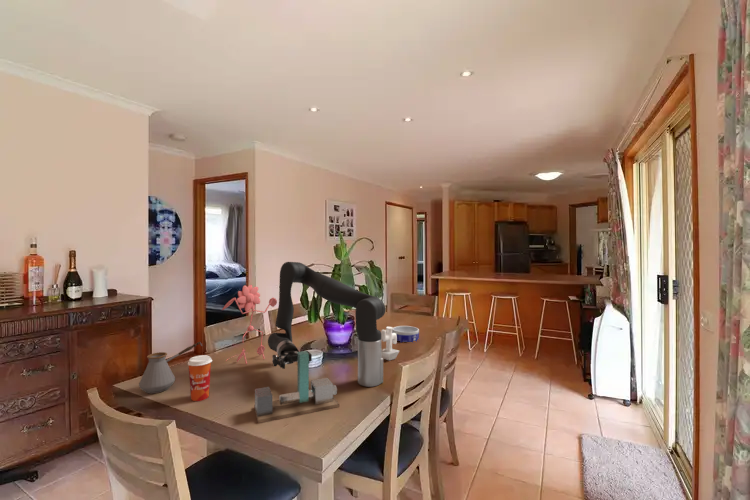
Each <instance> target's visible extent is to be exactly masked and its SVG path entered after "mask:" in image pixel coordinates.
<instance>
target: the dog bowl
mask: <svg viewBox="0 0 750 500" xmlns="http://www.w3.org/2000/svg"><path fill="white" fill-rule="evenodd" d="M392 333H396V335H397V341H400V342H399V343H402V342H412V343H414V342H413V341H416V342H418V341H419V340H420V329H419V328H418V327H415V326H410V325H398V326H394V327H393V326H392ZM418 339H419V340H418ZM417 340H418V341H417Z"/></svg>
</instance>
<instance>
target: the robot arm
mask: <svg viewBox="0 0 750 500" xmlns="http://www.w3.org/2000/svg"><path fill="white" fill-rule="evenodd" d="M294 283H295V284H296V283H299V284H302V285H304V286H308V287H310V288H311V289H312V290H313V292H314V293H316V295H318V296H319V297H320V298H322V299H324V300H326V301H327V302H329V303H333V304H335V305H341V306H347V307H351V308H354V309H355V314H354V315H355V330H356V333H357V384H358V385H360V386H363V387H368V388H370V387H371V388H372V387H377V386H379V385H381V384H383V383H384V359H383V358H382V356H381V350H382V339H381V331H382V330H379V329H378V324H377V321H378V320H379V319H381V318H383V317H384V316H385V314H386V305H385V302H383V300H382V299H380V298H379V297H377V296H373V295H371V294H367V293H366V292H365V293H364V292H362V291H359V290H357V289H356V288H353V287H352V286H349V285H347V284H345V283H343V282H341V281H339V280H338V279H337V280H336V279H335V278H333V277H330V276H327V275H325V274H322V273H320V272H318V271H315V270H313V269H312V268H310V267H309V266H307V265H306V264H304V263H302V262H296V261H286V262H284V263H283V264H282V265H281V267H280V270H279V285H278V286H279V288H278V289H279V292H278V307H277V312H276V313H277V314H276V319H275V327H276V328H278V329H281V330H284V331H285V332H273V333H270V335H269V336H268V338H267V345H268V348H269V349H270V350H272V351H274V352H276V354H277V355H276V354H273V355H271V356H272V359H271V360H272V366H273V367H277V366H278V367H280V369H281V368H282V369H283V370H284V369H286V365H290V364H294V363H298V352H300V351H299V349H298V347H297V346H296V345H295V344H294V343H293V334H292V323H293V318H294V312H295V311H294V310H295V309H294V308H295V307H294V303H293V299H292V287H293V284H294ZM306 351H307V352H308V353H309V364H310V362H313V361H312V354H311V353H310V352H309V351H308V350H306Z"/></svg>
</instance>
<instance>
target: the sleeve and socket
mask: <svg viewBox="0 0 750 500" xmlns="http://www.w3.org/2000/svg"><path fill="white" fill-rule="evenodd" d="M333 386H334V383H333V382H332V381H331V380H330V379H329V378H328V377H323V378H317V379H311V381H310V390H311V389H315V405H317V404H322V403H328V402H333V396H334V395H333ZM272 401H273V393H272V390H271V388H270V386H266V387H265V386H264V387H260V388H259V387H258V388H255V389H254V405H255V409H256V413H257V417H260V416H265V415H270V414H272ZM255 409H254V410H255ZM256 413H255V414H256ZM257 417H256V418H257Z"/></svg>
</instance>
